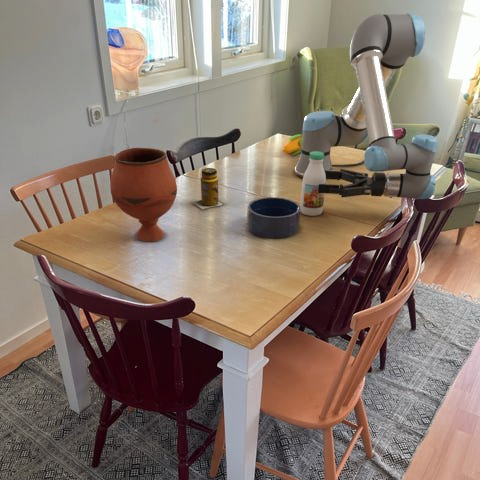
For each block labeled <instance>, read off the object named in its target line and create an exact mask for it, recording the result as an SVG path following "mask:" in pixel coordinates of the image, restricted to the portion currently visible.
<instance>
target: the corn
mask: <svg viewBox="0 0 480 480" xmlns="http://www.w3.org/2000/svg"><path fill="white" fill-rule="evenodd" d="M301 147H302V133H301V134H299V133H297V134H295V135H294V134H293V135H292V136H291V137H289V138H288V141H287V142H286V143H285V144H284V146H283V147H282V152H283V153H284V154H291V156H296V155H298V154H301Z"/></svg>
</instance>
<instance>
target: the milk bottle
mask: <svg viewBox="0 0 480 480" xmlns="http://www.w3.org/2000/svg"><path fill="white" fill-rule="evenodd" d="M309 160H310V163H309V166H308V168H307V170H306V171H305V174H304V177H303V178H302V184H301V193H300V194H301V195H300V196H301V197H300V204H299V205H300V207H301V212H300V214H302V215H305V216H311V217H316V216H320V215H321V214H322V213H323V210H324V201H325V194H326V193H318V188H319V184H326V183H327V179H326V175H325V171H324V168H323V160H324V153H323V152H319V151H314V152H311V153H310V159H309Z"/></svg>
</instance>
